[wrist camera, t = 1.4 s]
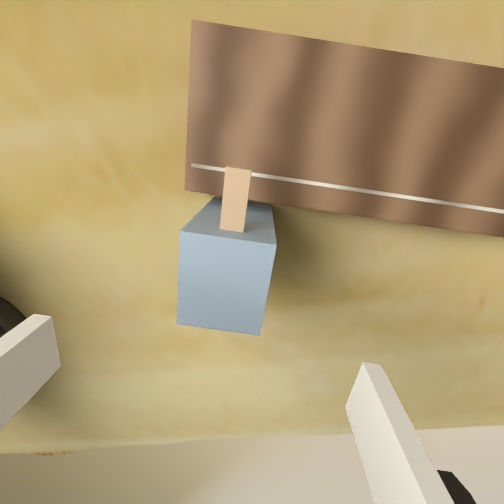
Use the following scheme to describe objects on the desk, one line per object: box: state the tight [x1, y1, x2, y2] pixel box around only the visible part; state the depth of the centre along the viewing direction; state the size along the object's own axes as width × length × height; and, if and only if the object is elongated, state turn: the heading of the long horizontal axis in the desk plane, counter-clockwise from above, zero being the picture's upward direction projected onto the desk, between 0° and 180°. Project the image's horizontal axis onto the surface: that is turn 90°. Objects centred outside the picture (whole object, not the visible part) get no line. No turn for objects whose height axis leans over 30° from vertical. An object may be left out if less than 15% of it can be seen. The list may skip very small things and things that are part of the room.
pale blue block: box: [177, 166, 277, 336], centre depth 22 cm, size 6×11×12 cm, turn 172°
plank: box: [185, 20, 504, 237], centre depth 23 cm, size 30×12×4 cm, turn 82°
